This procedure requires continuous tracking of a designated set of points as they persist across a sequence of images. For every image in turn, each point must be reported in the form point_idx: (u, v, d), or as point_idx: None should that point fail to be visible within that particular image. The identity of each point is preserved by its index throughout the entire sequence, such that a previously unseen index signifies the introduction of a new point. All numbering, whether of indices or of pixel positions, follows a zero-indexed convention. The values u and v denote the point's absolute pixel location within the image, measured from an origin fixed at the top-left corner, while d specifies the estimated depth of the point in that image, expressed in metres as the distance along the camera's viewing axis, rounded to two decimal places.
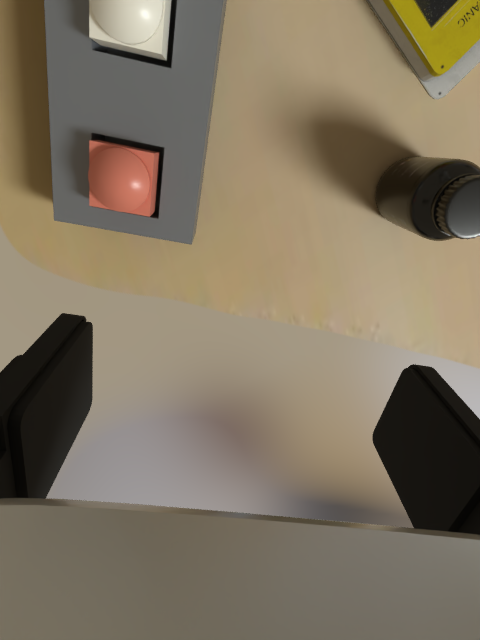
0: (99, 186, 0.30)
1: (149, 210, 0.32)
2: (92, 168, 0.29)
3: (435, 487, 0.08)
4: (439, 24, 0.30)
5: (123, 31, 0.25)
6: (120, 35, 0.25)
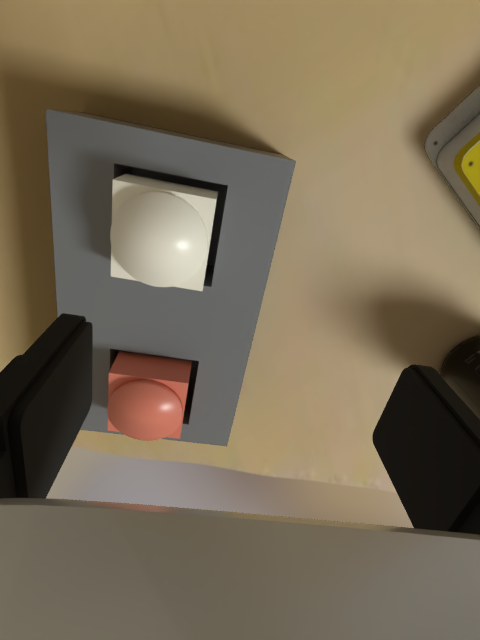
0: (120, 419, 0.24)
1: (180, 432, 0.26)
2: (112, 403, 0.24)
3: (434, 487, 0.08)
4: None
5: (155, 276, 0.19)
6: (151, 280, 0.20)
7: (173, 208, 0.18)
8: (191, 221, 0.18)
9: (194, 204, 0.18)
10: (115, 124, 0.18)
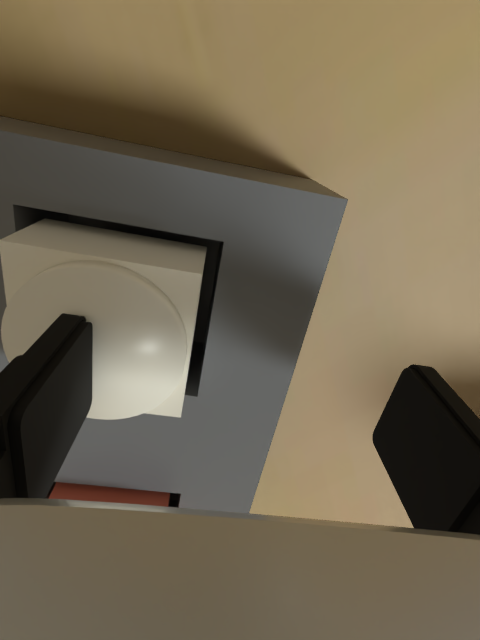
0: None
1: None
2: None
3: (435, 486, 0.09)
4: None
5: (94, 403, 0.11)
6: None
7: (118, 295, 0.09)
8: (154, 317, 0.10)
9: (160, 282, 0.10)
10: (6, 133, 0.09)
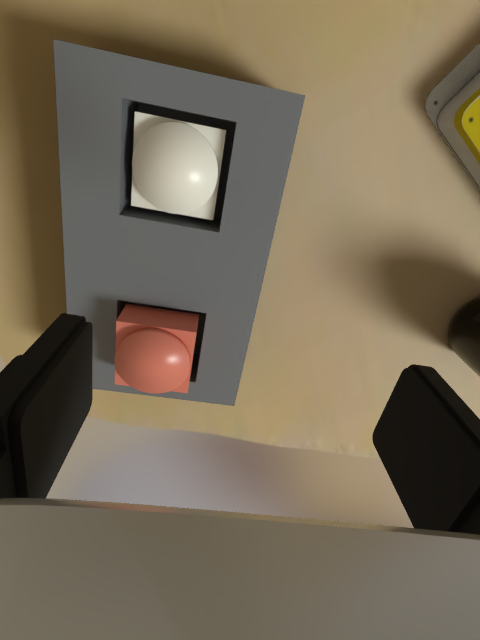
0: (128, 370, 0.24)
1: (187, 386, 0.26)
2: (120, 352, 0.23)
3: (435, 487, 0.08)
4: None
5: (171, 203, 0.22)
6: (167, 207, 0.22)
7: (188, 137, 0.20)
8: (204, 149, 0.20)
9: (206, 135, 0.21)
10: (123, 55, 0.18)
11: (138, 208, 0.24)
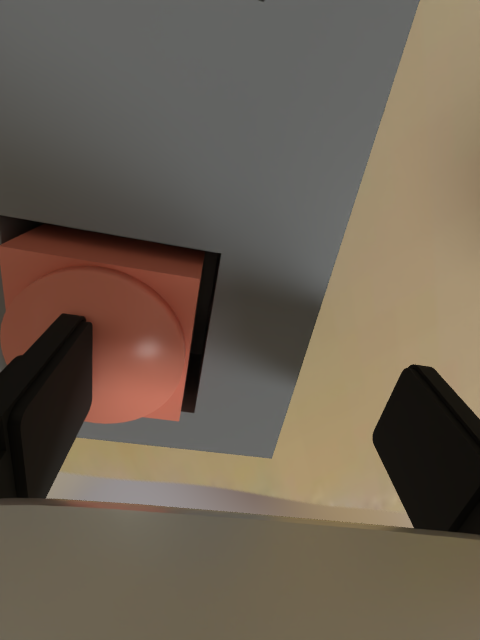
0: None
1: (179, 407, 0.12)
2: (11, 327, 0.10)
3: (435, 487, 0.08)
4: None
5: None
6: None
7: None
8: None
9: None
10: None
11: None
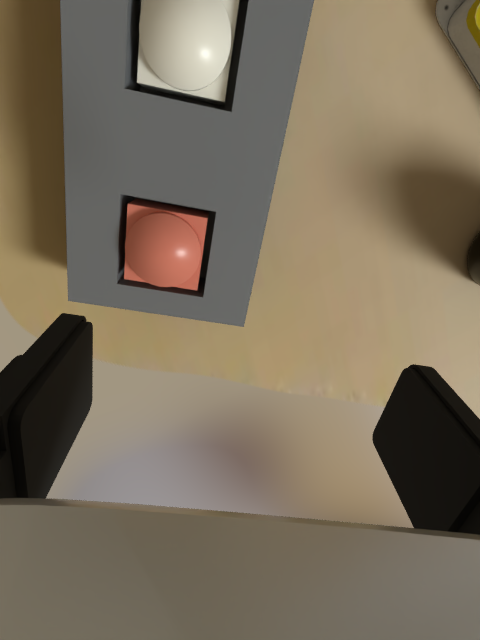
0: (138, 258, 0.24)
1: (197, 283, 0.26)
2: (130, 237, 0.23)
3: (435, 487, 0.08)
4: None
5: (180, 76, 0.20)
6: (176, 81, 0.20)
7: None
8: (217, 10, 0.19)
9: None
10: None
11: None
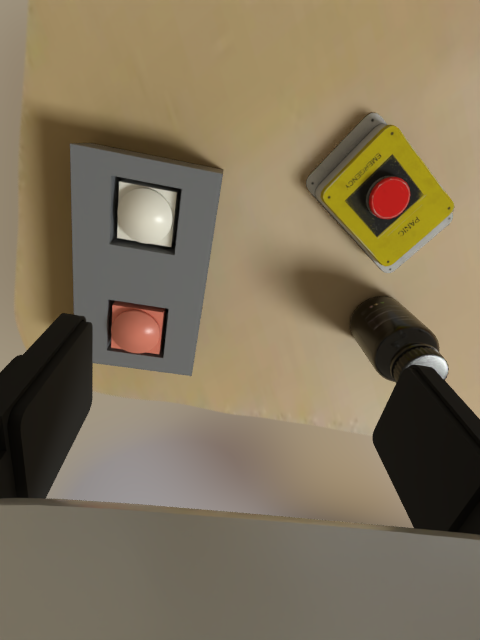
0: (119, 337, 0.38)
1: (159, 349, 0.39)
2: (114, 325, 0.37)
3: (435, 487, 0.08)
4: (383, 234, 0.37)
5: (143, 236, 0.34)
6: (140, 239, 0.34)
7: (152, 197, 0.32)
8: (162, 204, 0.33)
9: (164, 195, 0.33)
10: (111, 152, 0.30)
11: None
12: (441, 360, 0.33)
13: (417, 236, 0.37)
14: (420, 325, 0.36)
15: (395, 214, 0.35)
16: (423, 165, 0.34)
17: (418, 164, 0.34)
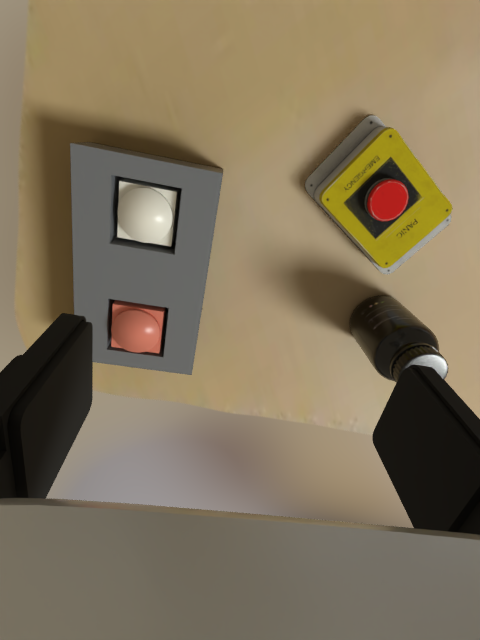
0: (120, 336, 0.38)
1: (159, 348, 0.39)
2: (114, 324, 0.37)
3: (435, 486, 0.09)
4: (382, 236, 0.37)
5: (143, 236, 0.34)
6: (140, 238, 0.34)
7: (152, 196, 0.32)
8: (162, 204, 0.33)
9: (164, 194, 0.33)
10: (112, 151, 0.30)
11: None
12: (441, 359, 0.33)
13: (416, 238, 0.37)
14: (420, 324, 0.36)
15: (393, 216, 0.35)
16: (421, 167, 0.34)
17: (416, 166, 0.34)
